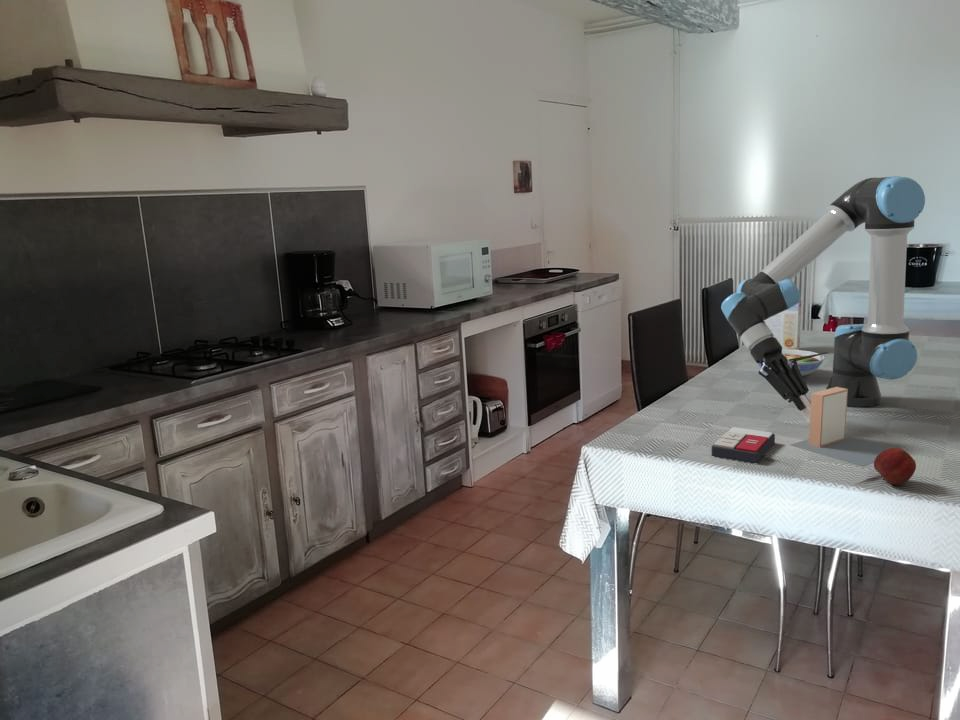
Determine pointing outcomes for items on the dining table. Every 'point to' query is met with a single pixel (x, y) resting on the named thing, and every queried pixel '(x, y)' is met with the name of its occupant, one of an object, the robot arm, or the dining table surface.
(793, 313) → the cracker box
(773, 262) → the robot arm
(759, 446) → the calculator
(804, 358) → the ramen bowl
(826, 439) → the block
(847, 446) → the mat
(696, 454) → the dining table surface
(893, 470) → the apple
